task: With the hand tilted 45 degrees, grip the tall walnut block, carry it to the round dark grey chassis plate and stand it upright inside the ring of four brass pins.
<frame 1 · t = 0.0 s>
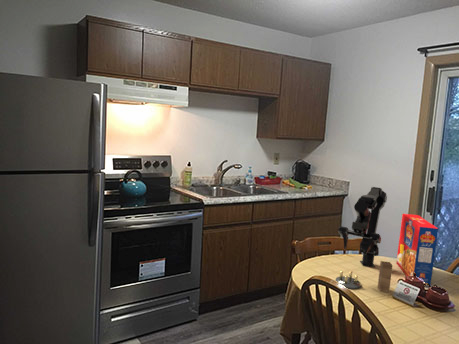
hand: (354, 251, 171), 15 cm above the table, tool tilted 35°, fingers open, 9 cm apart
walnut block: (383, 289, 167), on the table
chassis: (347, 283, 171), on the table
pasta box: (411, 274, 189), on the table
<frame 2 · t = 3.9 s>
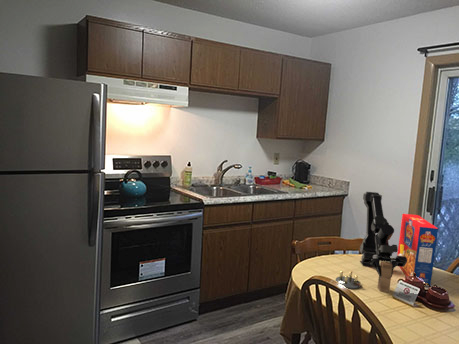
hand: (385, 276, 165), 7 cm above the table, tool tilted 45°, fingers closed on walnut block, 4 cm apart
walnut block: (383, 289, 167), on the table, touching gripper
everything else where it was.
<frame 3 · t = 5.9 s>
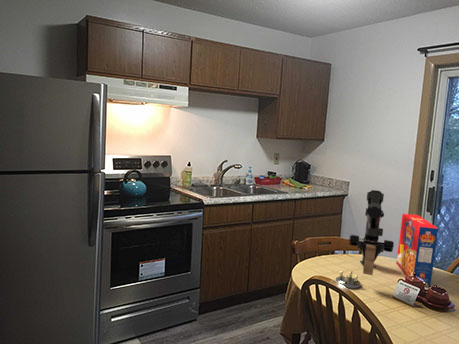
hand: (369, 259, 165), 14 cm above the table, tool tilted 45°, fingers closed on walnut block, 4 cm apart
walnut block: (367, 272, 167), point 7 cm above the table, touching gripper
everything else where it was.
when the fingers open (9 cm above the table, at t = 7.9 s): walnut block drops 1 cm, resting on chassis.
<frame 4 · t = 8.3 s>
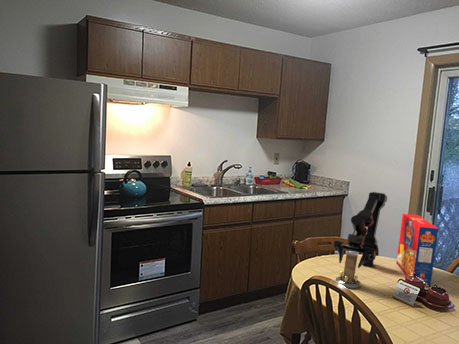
hand: (348, 265, 169), 9 cm above the table, tool tilted 45°, fingers open, 8 cm apart
walnut block: (348, 280, 171), point 1 cm above the table, touching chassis
everything else where it was.
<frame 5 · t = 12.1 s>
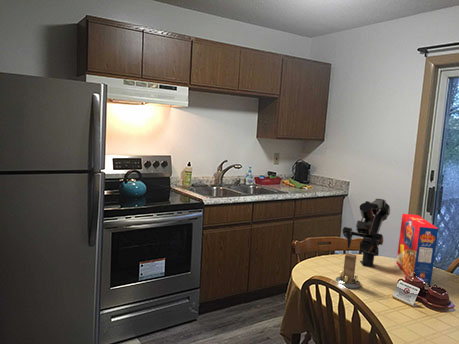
hand: (357, 250, 178), 14 cm above the table, tool tilted 45°, fingers open, 9 cm apart
nothing on the table moved.
at the end: walnut block 0.0 cm off-centre on the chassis, point 1.2 cm above the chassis's base; walnut block tilted 0°; the gripper is holding nothing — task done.
